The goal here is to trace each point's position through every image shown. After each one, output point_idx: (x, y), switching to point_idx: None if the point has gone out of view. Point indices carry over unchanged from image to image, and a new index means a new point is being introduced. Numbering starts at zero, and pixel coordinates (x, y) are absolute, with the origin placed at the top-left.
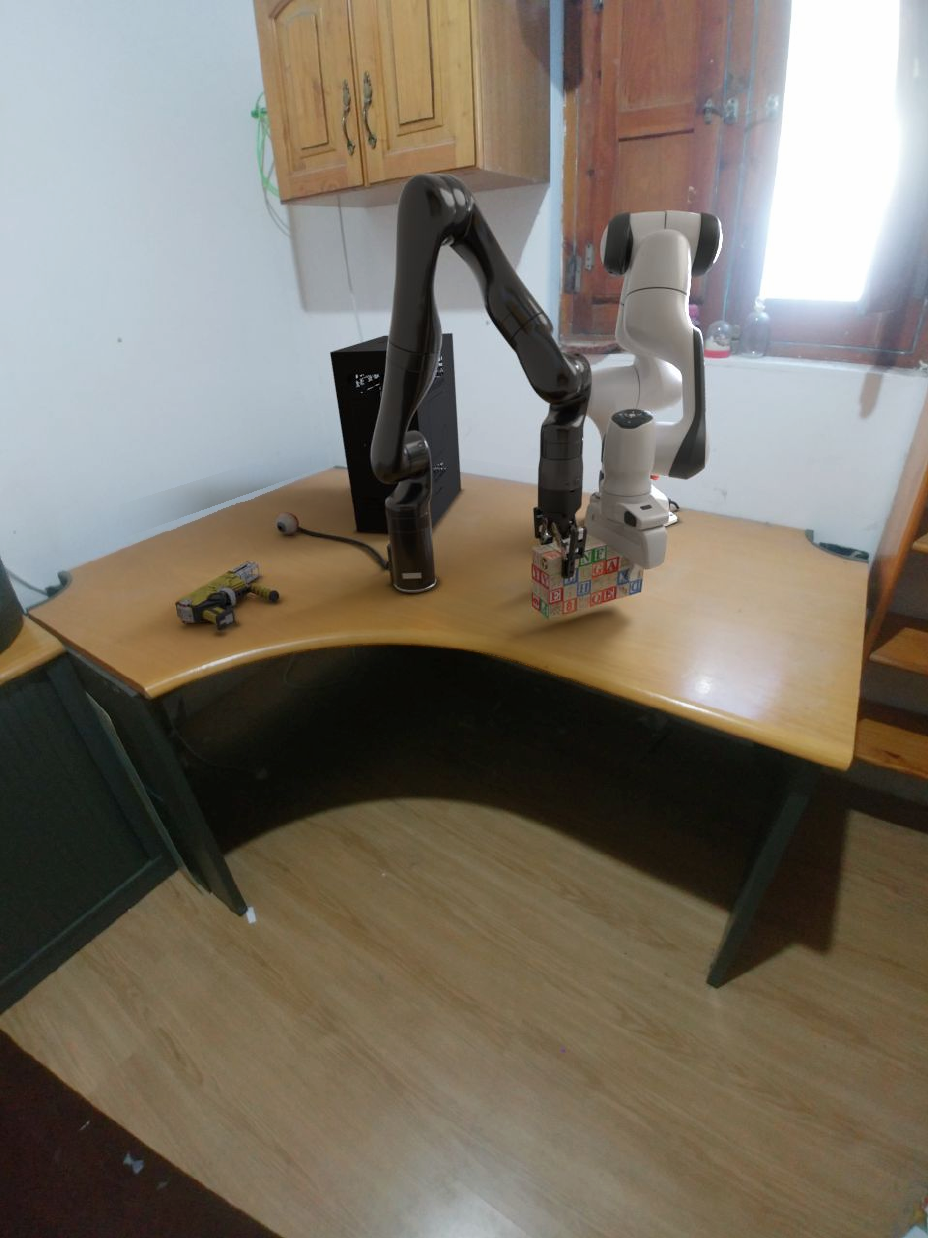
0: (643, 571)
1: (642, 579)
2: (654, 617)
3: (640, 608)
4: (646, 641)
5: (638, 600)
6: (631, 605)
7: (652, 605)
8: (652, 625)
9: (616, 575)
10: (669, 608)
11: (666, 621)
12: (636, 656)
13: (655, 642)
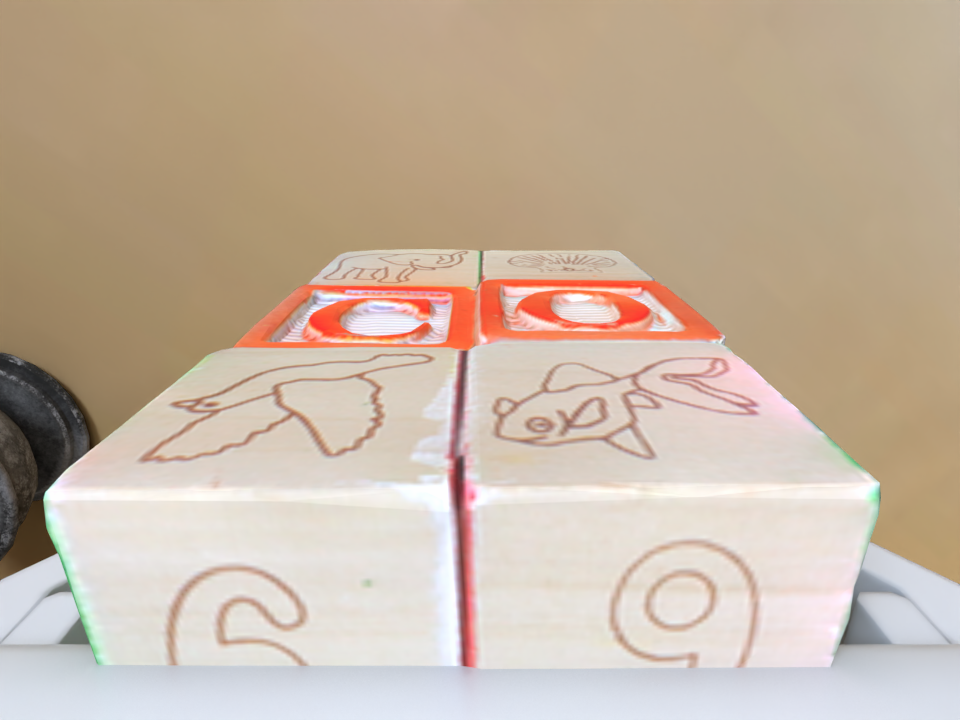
0: (688, 307)
1: (652, 279)
2: (730, 205)
3: (580, 206)
4: (888, 429)
5: (477, 137)
6: (512, 233)
7: (595, 94)
8: (793, 287)
9: None
10: (707, 2)
11: (821, 169)
12: (941, 548)
13: (931, 395)
